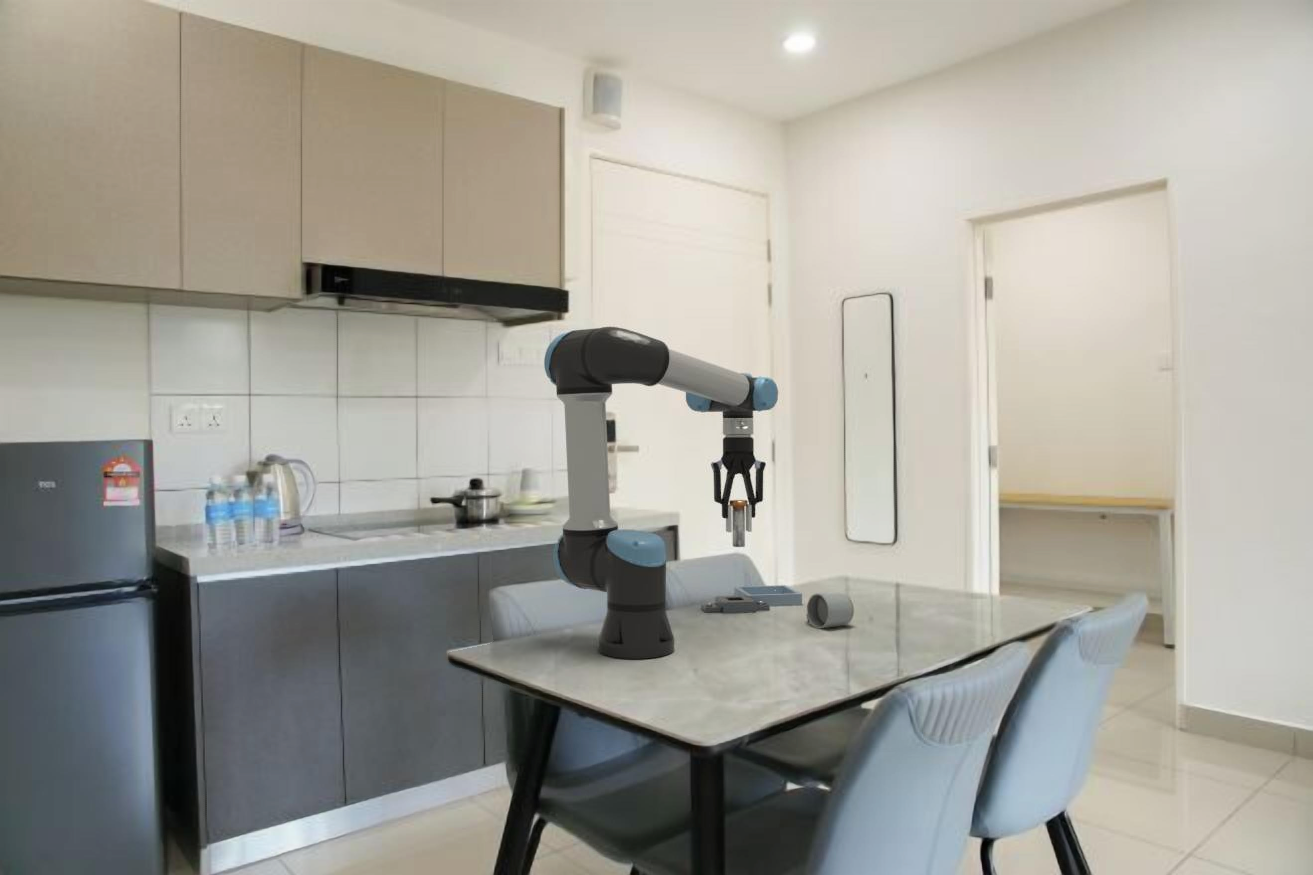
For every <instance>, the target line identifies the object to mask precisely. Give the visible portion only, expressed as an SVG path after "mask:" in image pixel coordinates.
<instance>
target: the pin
mask: <svg viewBox="0 0 1313 875" xmlns="http://www.w3.org/2000/svg"><path fill="white" fill-rule="evenodd" d="M728 504H729V505H731V507H732V547H733V548H745V547H746V532H745V531H746V506H748V504H749V503H748V499H747V500H746V499H732V500H731V499H729V503H728Z"/></svg>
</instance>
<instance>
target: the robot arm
mask: <svg viewBox="0 0 1313 875" xmlns="http://www.w3.org/2000/svg"><path fill="white" fill-rule="evenodd" d="M543 359H544V361H543V365H544V371H545V374H546V377H547V378H548V379H549V380H550V382H551V383H552V384H553V385H555V386H556V387H555V388H556V397H557V398H558V399H559V400H560V401H561V402H562V403H563V404H564V423H565V424H564V425H565V428H564V429H565V445H566V446H565V447H566V450H565V451H566V469H567V470H566V471H567V490H568V493H567V494H568V512H569V513H568V514H569V517H568V520H567V521H566V522H564V524H563V525H562V535H560V536H559V538H558V539H557V543H556V544H554V548H553V552H552V558H553V560H552V561H553V566H554V569H555V571H556V573H557V574H558V577H560V578H561V579H562V581H564V582H565V583H566V584H569V585H570V586H575V587H577V588H579V589H583V590H592V591H597V592H598V591H599V592H604V593H606V597H607V598H606V601H607V602H606V603H607V604H606V605H607V606H606V608H607V609H606V615H605V617H604V621H603V624H602V627H601V631H600V633H599V637H598V652H599V653H600V654H602V655H605V656H607V657H613V658H619V659H634V660H635V659H636V660H637V659H652V658H659V657H664V656H667V655H670V654H671V653H673V652H674V651H675V637H674V633H673V630H672V627H671V624H670V620H669V618H668V615H667V611H666V587H667V586H666V585H667V583H666V582H667V581H666V580H667V579H666V578H667V554H666V544H665V541H664V539H663V538H662V537H661V536H660V535H658V534H656V533H654V532H653V533H652V532H649V531H644V530H636V529H619V523H618V522H617V521H616V520H615V519H614V518H613V517H612V516H611V502H610V481H609V480H610V478H609V456H608V455H609V454H608V432H607V429H608V428H607V409H606V408H607V407H606V402H607V401H608V400H609V398H610V397H611V396H612V395H613V385H619V384H638V385H643V386H646V387H654V386H657V385H660V386H665V387H667V388H671V389H675V390H679V391H682V392H685V401H686V405H687V406H688V407H689V409H691V410H692V411H694V412H700V413H720V412H721V413H722V434H723V436H724V437H723V438H722V456H721V458H720V460H718V461H715V462H714V461H712V462H711V463H710V466H711V467H710V468H711V470H712V471H713V472H712V473H713V500H714V502H716V503H719V505H721V517H722V519H725V532H727V533H733V524H732V506H731V505H730V503H729V501H730V498H731V493H732V489H733V485H734V479H735V476H736V475H738V474H739V475H741V477H742V479H743V482H744V484H743V485H744V488H745V493H746V497H747V504H748V506H745V531H746V532H753V528H752V526H753V525H752V524H753V523H752V522H753V521H752V518H753V519H754V518H755V517H756V505H757V504H758V503H762V502H763V500H764V471H765V468H766V464H767V463H766V462H765V461H761V460H758V459H756V457H755V454H754V450H755V448H754V445H755V444H754V441H755V440H754V438H753V437H752V436H753V435H754V412H762V411H769V410H770V411H771V409H773V408H774V407H775V406H776V404H777V402H778V397H779V389H778V386H777V383H776V381H774V380H773V379H772V378H770V377H764V376H758V377H753V376H752V374H751V373H747V372H737V371H734V370H731V369H729V368H725V367H722V366H720V365H716V364H714V363H711V362H708V361H705V360H702V359H700V358H697V357H693V356H691V355H687V354H684V353H682V352H679V351H676V350H673V349H670V348H669V346H668V345H667V344H666V342H664V341H663V340H660V339H657V338H654V337H651V336H648V335H646V334H645V335H644V334H642V333H640V332H636V331H633V330H630V329H626V328H623V327H618V326H604V327H597V328H595V327H594V328H586V329H576V330H570V331H568V332H565V333H562V334H559V335H557V336H556V337H554V339H553V340H552V341H551V342H550V343H549V345H548V346H547V348H546V351H545V355H544V358H543ZM753 466H754V469H755V490H754V488H753V484H752V483H753V482H752V480H751V479H752V478H751V477H752V476H751V472H750V471H751V469H752V467H753ZM722 467H724V468H725V469H726V478H725V483H724V487H723V491H722V478H721V477H722V472H721V471H722ZM754 492H755V493H754Z"/></svg>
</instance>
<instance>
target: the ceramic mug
mask: <svg viewBox="0 0 1313 875" xmlns="http://www.w3.org/2000/svg"><path fill="white" fill-rule="evenodd" d="M806 611H807V612H806V619H807V622H810V624H811V625H812V626H813V627H815V628H816V629H829V628H834V627H835V628H836V627H842V626H845V625H848V624H849V623H850V622H851V621H852V619H853V617H854V613H855V612H854V611H855V610H854V604H853V601H852V600H851V598H850V597H849V596H848V595H846V594H843V593H839V592H834V593H833V592H830V593H829V592H825V593H823V592H821V593H820V592H818V593H817V592H816V593H814V594H812V595H811V596H810V597H809V599H808V601H807V604H806Z"/></svg>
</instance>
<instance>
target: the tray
mask: <svg viewBox="0 0 1313 875" xmlns="http://www.w3.org/2000/svg"><path fill="white" fill-rule="evenodd" d="M733 588H734V591H733V593H734V595H733V596H745V595H746V596H748V597H749V598H751V599H753V600H754V601H755V602H757V601H764V602H765V603H767V604H768V605H770V607H779V606H780V607H784V606H786V607H787V606H802V605H803V593H801V592H799V591H797V590H796V589H794V588H792V587H790V586H789V585H785V584H779V585H777V584H776V585H750V586H748V585H747V586H734V587H733ZM775 590H776V591H775Z"/></svg>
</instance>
